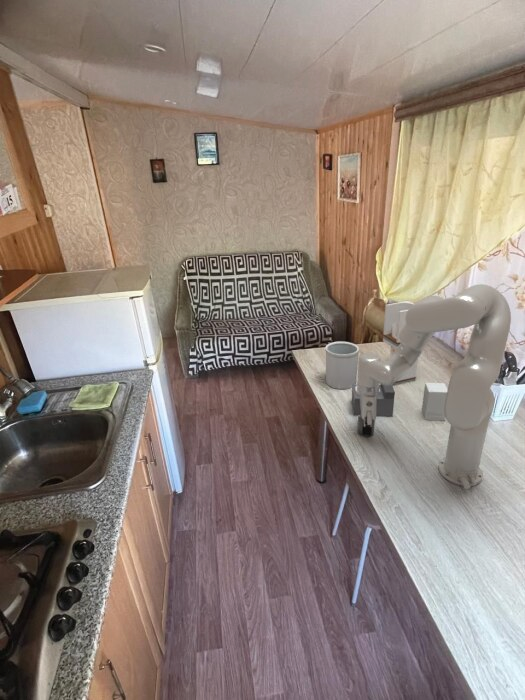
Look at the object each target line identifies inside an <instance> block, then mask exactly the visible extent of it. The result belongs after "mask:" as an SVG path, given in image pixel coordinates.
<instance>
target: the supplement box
mask: <svg viewBox="0 0 525 700" xmlns="http://www.w3.org/2000/svg"><path fill="white" fill-rule="evenodd" d="M423 389H424V390H423V397H422V398H423V399H422V406H421V412H422V415H423V417H424V420H427V421H428V420H429V421H438V422H439V421H443V422H444V421H445V420H446V417H445V414H444V406H445V401H446V396H447V391H448V387H447V385H446V383H443V382H425V383H424V388H423Z"/></svg>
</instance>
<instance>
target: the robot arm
mask: <svg viewBox="0 0 525 700" xmlns="http://www.w3.org/2000/svg"><path fill="white" fill-rule="evenodd" d="M405 320H406V324H405V325H404V327H403V328H402V330H401V331H400V333H399V339H400V341H401V343H400V345H399V346H398V348H397V349H396V351H395V352H394V354H393V355H392V356H391V357H390V356H389V357H388V358H386V359H385V360H384V361H382V358H381V356H380V355H379V354H377V353H374V352H365V353H362V354H360V356H358V364H357V382H356V383H357V384H356V385H357V391H358V393H360V410H361V415H362V419H363V420H364V425H363V429H362V434H363V435H371V434H372V419H373V420H375V421H376V420H377V416H376V395H377V394H378V393H379V385H381V384H382V385H385V386H390V385H392V384H394V383H395V382H396V381H397V380H398V379H400V378H401V377H402V376H403V375H404V374H406V373H407V372H408V371H409V370H410V368H411V367H412V366H413V364H414V363H415V362H416V360H417V359H418V360H419V357H420V356H421V355H422V353H423V351H424V349H425V347H426V346H427V344H428V343H429V341H430V340H431V339H432V338H433V336H434V335H435V333H440V332H446V331H447V332H448V331H454V330H459V329H465V328H469V327H471V326H473V329H472V330H471V331H472V332H471V334H470V338H469V343H468V349H467V351H466V354H465V356H464V358H463V359H462V360H461V361H460V362H459V363H458V364H457V365H456V366H455V368H453V371H452V372H451V376H450V377H449V381H448V387H447V389H448V391H447V396H446V401H445V406H444V414H445V420H446V421H447V423H448V424H449V425H450V429H449V434H448V439H447V445H446V451H445V457H444V458H442V459H441V460H440V461H439V462H438V471H439V473H440V475H441V476H442V477H443V478H444V479H445V480H447V481H448V482H449V483H450V482H451V483H452V484H455V485H458V486H462V487H463V488H464V489H465V490H469V489H470V488H471V487H473V486H477V485H479V484H480V483H481V482H482V481H483V479H484V473H483V472H484V471H483V470H482V469H481V467H480V463H481V459H482V454H483V451H484V444H485V441H486V436H487V431H488V428H489V423H490V419H491V418H492V414H493V411H494V406H495V402H496V401H495V395H494V394H495V393H494V391H493V390H492V389H491V387H492V386H493V385H494V384H495V382H496V381H497V379H498V378H499V376H500V374H501V373H500V372H501V369H502V368H501V367H502V363H503V360H504V355H505V351H506V346H507V341H508V338H509V333H510V330H511V323H512V321H511V320H512V313H511V308H510V305H509V303H508V301H507V299H506V297H505V296H504V295H503V294H502V293H501V292H500V291H499V290H498V289H496V288H495V287H493V286H490V285H488V284H482V283H479V284H474V285H472V286H469V287H466V288H465V289H464V290H462V291H461V292H459V293H458V294H457V295H455V296H452V297H447V298H443V297H441V296H437V295H429V296H426V297H423V298H422V299H420V300H418V301H417V302H415V303H414V305H412V306H411V307H410V308H409V309H408V311H407V313H406V317H405ZM392 386H393V385H392ZM365 417H367V418H365ZM365 420H367V423H365Z"/></svg>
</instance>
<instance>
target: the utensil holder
mask: <svg viewBox="0 0 525 700" xmlns="http://www.w3.org/2000/svg"><path fill="white" fill-rule="evenodd" d="M324 350H325V382H326V384H327V385H328V386H329V387H330V388H333V389H337V390H346V389H352V385H357V384H356V383H357V378H358V361H359V353H360V347H359V346H358V345H357V344H355V343H353V342H349V341H334V342H329V343H327V344H326V345H325V347H324Z"/></svg>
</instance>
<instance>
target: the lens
mask: <svg viewBox="0 0 525 700" xmlns="http://www.w3.org/2000/svg"><path fill="white" fill-rule="evenodd" d="M365 418H367V417H365ZM365 423H367V420H365ZM375 423H376V420H373V419H372V434H371V435H363V434H362V429H363V425H364V420H363V419H362V415H361V413H359V414H358V416H357V434H358V435H359V436H361V437H364V438H365V437H366V438H369V437H372V436H374V435H375Z"/></svg>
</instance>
